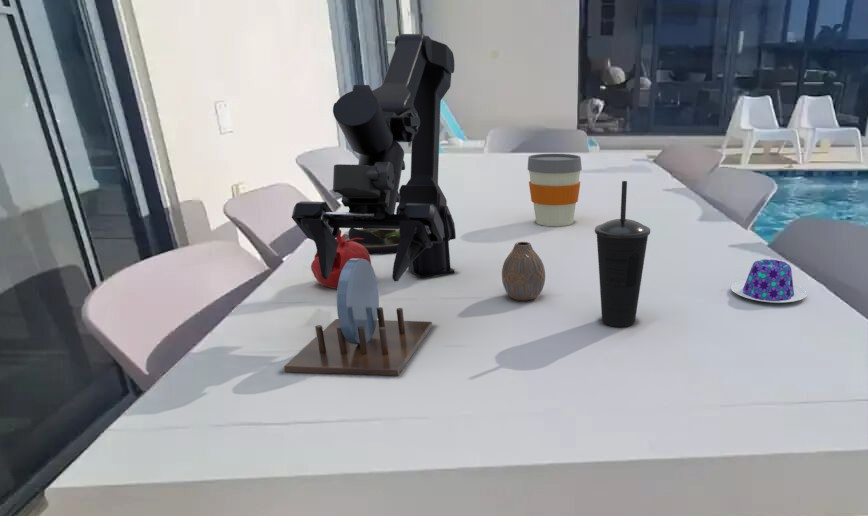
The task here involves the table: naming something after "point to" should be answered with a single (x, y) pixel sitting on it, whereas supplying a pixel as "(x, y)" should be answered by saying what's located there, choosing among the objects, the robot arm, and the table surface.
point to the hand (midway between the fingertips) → (359, 279)
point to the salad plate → (375, 239)
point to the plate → (357, 299)
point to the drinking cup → (620, 266)
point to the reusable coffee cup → (554, 187)
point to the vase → (523, 273)
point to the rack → (362, 348)
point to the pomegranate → (340, 260)
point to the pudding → (769, 283)
